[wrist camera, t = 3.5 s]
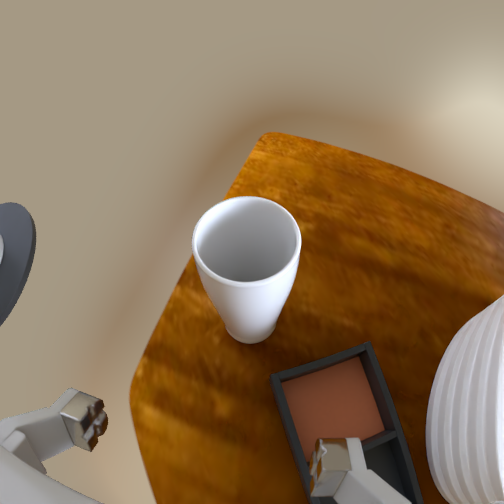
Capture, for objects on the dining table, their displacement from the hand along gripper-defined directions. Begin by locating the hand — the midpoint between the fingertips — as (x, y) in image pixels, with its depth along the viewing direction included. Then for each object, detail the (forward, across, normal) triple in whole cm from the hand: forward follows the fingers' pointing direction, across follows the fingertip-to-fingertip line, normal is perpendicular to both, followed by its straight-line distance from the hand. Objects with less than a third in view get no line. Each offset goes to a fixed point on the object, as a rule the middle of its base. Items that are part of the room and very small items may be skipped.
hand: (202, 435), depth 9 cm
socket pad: (+12, -11, +14) cm, 21 cm away
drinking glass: (+21, 0, +5) cm, 22 cm away
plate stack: (+13, -34, +13) cm, 39 cm away
